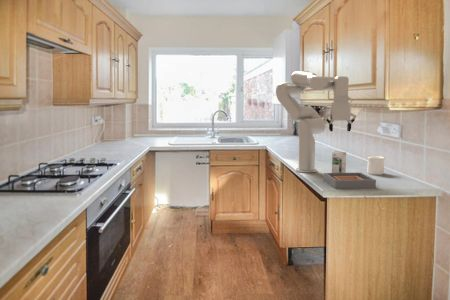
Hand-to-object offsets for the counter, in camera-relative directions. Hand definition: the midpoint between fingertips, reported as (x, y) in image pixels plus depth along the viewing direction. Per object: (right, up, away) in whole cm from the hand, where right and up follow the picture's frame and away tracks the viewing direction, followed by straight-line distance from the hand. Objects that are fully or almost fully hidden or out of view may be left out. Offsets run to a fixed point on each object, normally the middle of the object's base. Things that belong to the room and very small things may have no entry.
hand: (339, 131), depth 224 cm
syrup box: (0, -26, +3) cm, 26 cm away
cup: (+25, -24, +15) cm, 38 cm away
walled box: (+1, -28, -13) cm, 31 cm away
